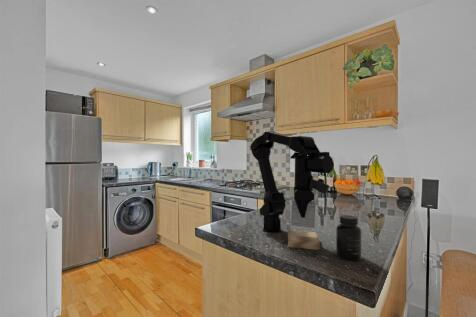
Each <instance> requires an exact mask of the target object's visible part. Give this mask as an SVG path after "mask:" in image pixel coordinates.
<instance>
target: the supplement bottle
mask: <svg viewBox="0 0 476 317" xmlns="http://www.w3.org/2000/svg"><path fill="white" fill-rule="evenodd" d="M358 220H359V217H357V216H354V215H351V214H350V215H348V214H342V215H340V216H339V224H338V225H337V226H336V229H335V230H336V231H335V232H336V233H335V234H336V235H335V240H336V241H335V242H336V248H335V250H336V251H335V252H336V256H338V258H340V259H342V260H345V261H348V262H349V261H350V262H357V261H360V260H361V258H362V229H361V227H359V226H358V225H359V221H358Z"/></svg>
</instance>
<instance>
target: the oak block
mask: <svg viewBox="0 0 476 317" xmlns="http://www.w3.org/2000/svg"><path fill="white" fill-rule="evenodd" d="M320 247H321V246H320V239H319V236H318V234H317V232H315V231H304V230H291V229H288V230H287V248H295V249H297V248H298V249H305V250H307V249H308V250H316V251H319V250H320Z"/></svg>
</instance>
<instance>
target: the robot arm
mask: <svg viewBox="0 0 476 317" xmlns="http://www.w3.org/2000/svg"><path fill="white" fill-rule="evenodd" d="M275 143H276V144H280V145H282V146H283V145H284V146H287V148H289V149H290V150H291V151H294V153H293V154H292V155H291V156H290V159H294V186H293V199H294V200H295V202H296V205H297V207H298V210H299V213H300V215H301V218H305V214H306V210H307V206H308V203H309V202H311V201H315V194H316V193H314V191H313V190H315V191H318V192H321V193H322V194H324V195H327V192H328V190H329V188H330V185H329V184H327V183H325V180H324V179H322V178H317V179H315V178H314V176H313V175H312V173H316V174H317V173H319V174H330V173H331V172H332V171H333V170H334V165H335V163H334V161H333V158H332V156H331V155H330V151H320V149H319V148H318V146H317V144H316V141H315V139H314V137H312V136H304V135H288V134H284V133H279V132H276V131H272V130H267V131H264V133H263V134H262V135H260V136H258V137H256V138H255V139H254V140H253V141H252V142H251V144H250V151H251V153H252V156H253V157H254V158H255V159H256V160H257V163H258V168H259V172H260V175H261V179H262V184H263V188H264V191H265V192H264V196H263V199H262V200H263V204H262V206H261V207H260V208H259V215H261V216H263V227H262V231H263V232H272V233H279V232H280V230H281V228H282V227H281V226H282V225H281V223H282V222H281V220H282V219H281V217H280V215H281V216H283V215H284V211H285V208H286V203H287V201H286V199H285V194H284V192H283V191H281V192H280V191H279V190H278V189H277V185H276V181H275V176H274V173H273V169H272V165H271V162H270V156H271V149H272V148H273V147H274V144H275Z"/></svg>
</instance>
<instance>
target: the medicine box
mask: <svg viewBox="0 0 476 317" xmlns="http://www.w3.org/2000/svg"><path fill="white" fill-rule="evenodd" d="M290 211H291V212H290V216H291V217H290V226H294V227H305V228H313V229H314V228H315V224H316V223H315V222H316V221H315V220H316V202H315V200H312V201H311V202H309V203H308V206H307V210H306V214H305V218H301V215H300V213H299V210H298V207H297V205H296V202H295V200H294V198H293V199H291V210H290Z"/></svg>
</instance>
